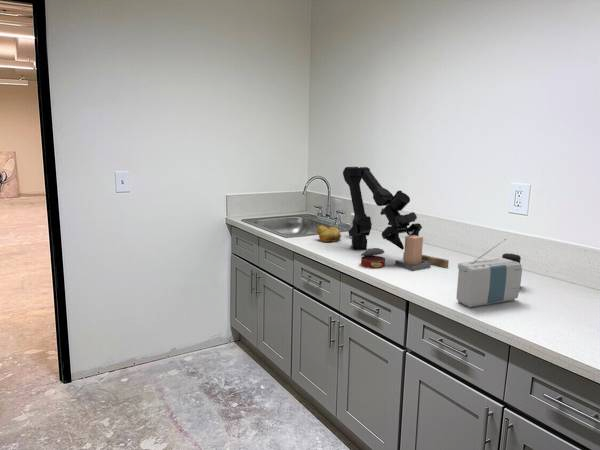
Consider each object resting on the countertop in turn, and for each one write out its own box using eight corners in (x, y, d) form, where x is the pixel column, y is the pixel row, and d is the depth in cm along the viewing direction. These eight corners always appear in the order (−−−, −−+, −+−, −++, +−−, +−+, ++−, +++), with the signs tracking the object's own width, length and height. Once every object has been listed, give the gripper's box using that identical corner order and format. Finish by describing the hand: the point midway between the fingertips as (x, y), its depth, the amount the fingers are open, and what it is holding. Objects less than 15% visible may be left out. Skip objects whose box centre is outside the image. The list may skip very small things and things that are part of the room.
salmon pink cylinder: (403, 264, 196) (405, 236, 194) (412, 262, 199) (413, 235, 197) (412, 267, 192) (414, 238, 190) (421, 265, 195) (423, 237, 192)
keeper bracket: (394, 264, 197) (394, 260, 197) (411, 261, 203) (412, 257, 202) (412, 270, 188) (412, 266, 188) (430, 267, 194) (430, 262, 194)
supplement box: (365, 239, 245) (366, 215, 243) (350, 238, 245) (351, 214, 243) (363, 236, 252) (364, 212, 250) (349, 235, 252) (350, 212, 250)
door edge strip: (403, 258, 207) (403, 252, 206) (405, 257, 208) (406, 251, 208) (445, 268, 193) (446, 260, 193) (448, 267, 195) (448, 260, 194)
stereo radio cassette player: (470, 310, 147) (476, 247, 143) (452, 301, 154) (457, 241, 150) (519, 301, 155) (526, 242, 152) (499, 294, 163) (505, 237, 159)
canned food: (362, 277, 194) (351, 255, 194) (370, 269, 203) (360, 248, 202) (386, 269, 188) (375, 246, 188) (393, 261, 197) (383, 239, 196)
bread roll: (337, 237, 247) (337, 222, 245) (346, 241, 238) (346, 226, 237) (314, 239, 242) (315, 224, 240) (323, 243, 233) (324, 227, 231)
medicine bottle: (517, 290, 166) (521, 257, 164) (496, 287, 170) (499, 254, 168) (520, 285, 172) (523, 253, 170) (499, 282, 176) (502, 250, 174)
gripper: (388, 207, 191) (405, 239, 184) (420, 204, 201) (438, 234, 194) (374, 223, 199) (390, 254, 192) (405, 219, 209) (422, 249, 202)
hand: (411, 247), depth 195 cm, fingers open, 9 cm apart
